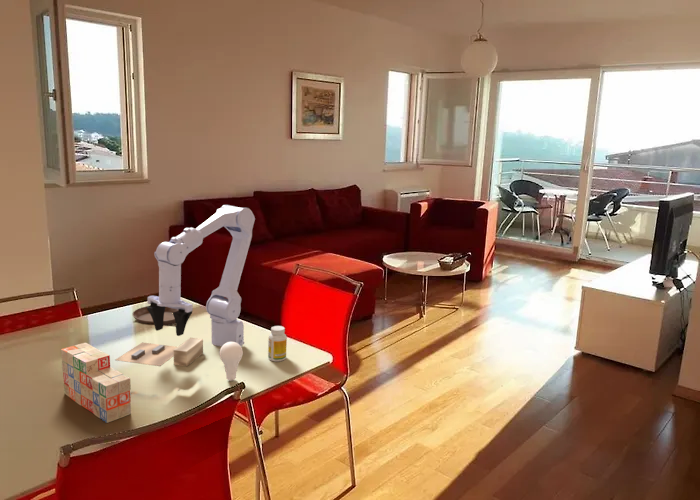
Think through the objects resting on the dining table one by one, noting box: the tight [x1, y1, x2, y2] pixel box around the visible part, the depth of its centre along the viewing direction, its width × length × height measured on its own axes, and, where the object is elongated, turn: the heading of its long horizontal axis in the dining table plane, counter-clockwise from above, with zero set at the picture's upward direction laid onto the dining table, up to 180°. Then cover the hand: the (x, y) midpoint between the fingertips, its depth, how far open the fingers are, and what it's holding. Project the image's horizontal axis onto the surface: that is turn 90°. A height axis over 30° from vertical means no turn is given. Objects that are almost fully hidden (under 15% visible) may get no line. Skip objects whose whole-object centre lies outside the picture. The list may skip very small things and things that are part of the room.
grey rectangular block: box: [131, 349, 145, 359], centre depth 161 cm, size 2×4×1 cm, turn 168°
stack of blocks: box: [60, 342, 132, 424], centre depth 135 cm, size 21×6×12 cm, turn 51°
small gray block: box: [152, 344, 165, 354], centre depth 166 cm, size 2×4×1 cm, turn 168°
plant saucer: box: [132, 305, 179, 327], centre depth 196 cm, size 18×18×3 cm
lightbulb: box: [219, 342, 244, 382], centre depth 151 cm, size 6×6×11 cm
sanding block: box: [173, 337, 204, 367], centre depth 161 cm, size 4×10×6 cm, turn 169°
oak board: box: [115, 342, 178, 367], centre depth 164 cm, size 14×14×2 cm
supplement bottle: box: [267, 325, 288, 362], centre depth 167 cm, size 5×5×10 cm
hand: (169, 332), depth 157 cm, fingers open, 7 cm apart
